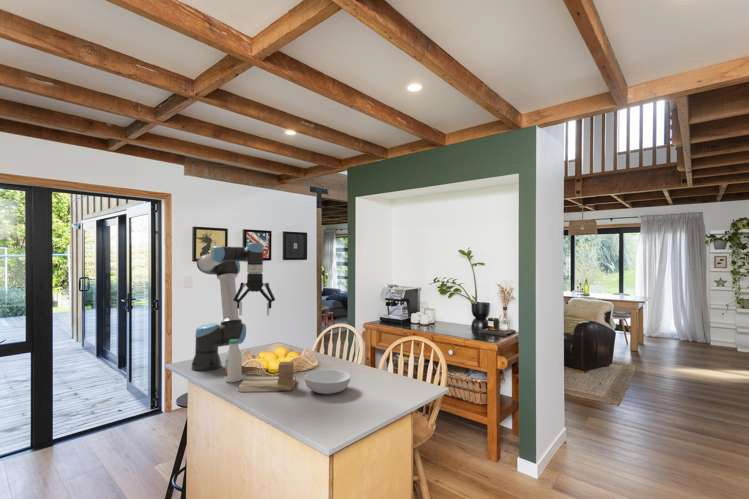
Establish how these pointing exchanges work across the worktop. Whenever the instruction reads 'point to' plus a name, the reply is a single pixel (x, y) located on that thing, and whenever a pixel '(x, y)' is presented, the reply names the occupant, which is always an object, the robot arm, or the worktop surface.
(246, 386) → the maple board
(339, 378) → the serving bowl
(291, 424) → the worktop surface
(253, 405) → the worktop surface
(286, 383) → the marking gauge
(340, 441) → the worktop surface
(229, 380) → the milk bottle
